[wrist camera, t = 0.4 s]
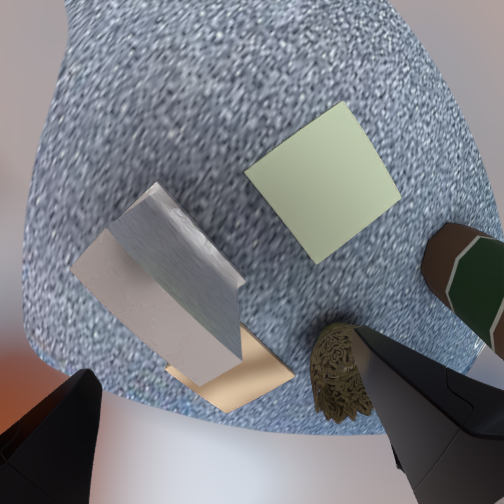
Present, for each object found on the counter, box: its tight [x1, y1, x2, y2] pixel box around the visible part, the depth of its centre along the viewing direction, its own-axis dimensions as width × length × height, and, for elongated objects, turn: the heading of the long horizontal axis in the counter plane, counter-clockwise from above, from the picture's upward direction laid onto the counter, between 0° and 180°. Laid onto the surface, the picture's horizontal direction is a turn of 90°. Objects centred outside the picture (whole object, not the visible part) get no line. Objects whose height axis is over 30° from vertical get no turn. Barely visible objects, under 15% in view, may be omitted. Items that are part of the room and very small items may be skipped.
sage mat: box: [244, 101, 402, 265], centre depth 20 cm, size 9×9×1 cm
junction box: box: [69, 180, 246, 387], centre depth 17 cm, size 10×5×10 cm, turn 38°
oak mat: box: [165, 322, 295, 413], centre depth 26 cm, size 9×9×1 cm
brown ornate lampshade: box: [310, 321, 375, 424], centre depth 22 cm, size 8×7×8 cm
